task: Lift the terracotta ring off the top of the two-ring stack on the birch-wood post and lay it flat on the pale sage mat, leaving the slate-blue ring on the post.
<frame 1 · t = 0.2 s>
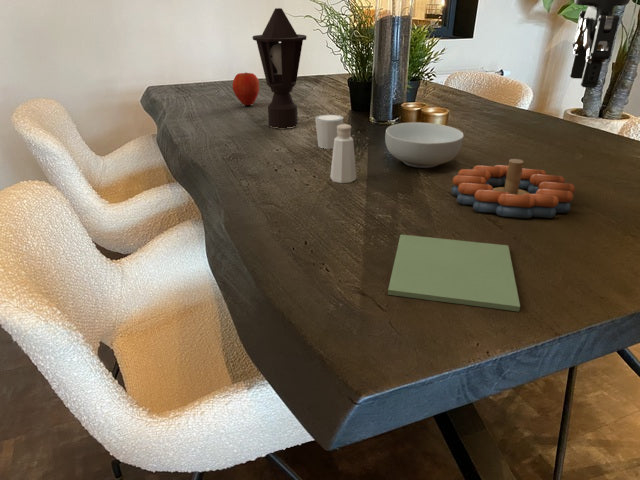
hand: (582, 82, 80), 21 cm above the table, tool pointing down, fingers open, 8 cm apart
bottom ring: (509, 200, 90), on the table, touching top ring
apple: (247, 106, 160), on the table
cereal bowl: (421, 163, 109), on the table
lantern: (283, 126, 138), on the table
white sugar pot: (329, 146, 121), on the table
pepper shaker: (343, 179, 100), on the table
ring stand: (509, 200, 90), on the table
mat: (452, 270, 68), on the table
top ring: (511, 189, 89), point 2 cm above the table, touching bottom ring
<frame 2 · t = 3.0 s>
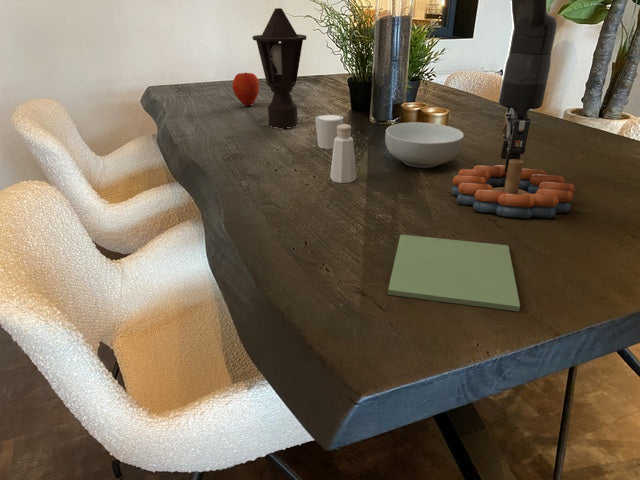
hand: (508, 165, 95), 4 cm above the table, tool pointing down, fingers open, 8 cm apart
nothing on the table moved.
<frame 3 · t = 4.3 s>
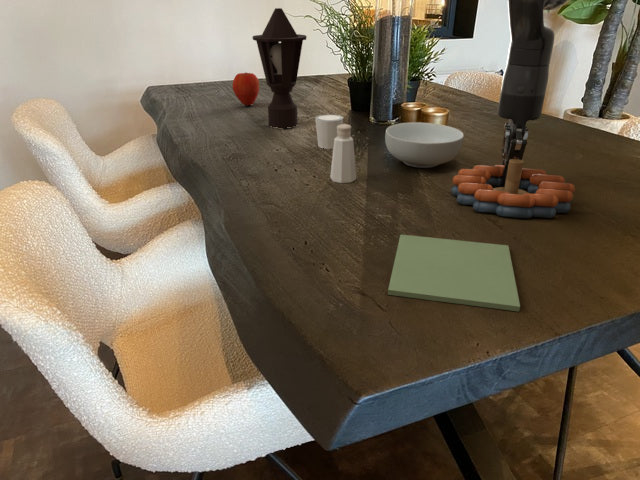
hand: (506, 180, 96), 1 cm above the table, tool pointing down, fingers closed on top ring, 2 cm apart
bottom ring: (509, 200, 90), on the table, touching gripper, top ring
top ring: (511, 189, 89), point 2 cm above the table, touching bottom ring, gripper
everything else where it was.
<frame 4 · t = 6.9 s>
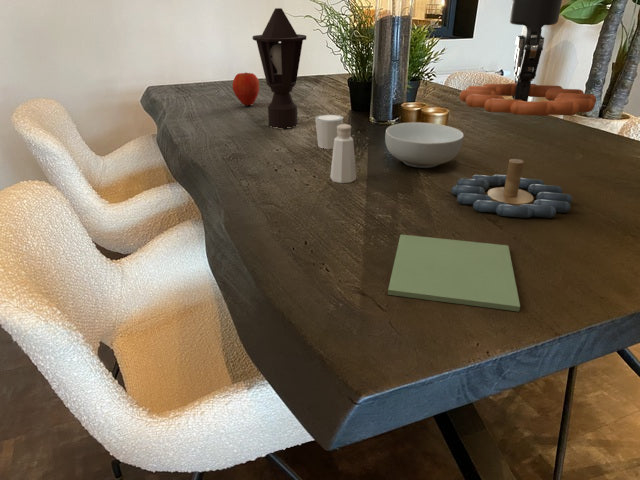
hand: (519, 100, 87), 17 cm above the table, tool pointing down, fingers closed on top ring, 2 cm apart
bottom ring: (509, 199, 90), on the table
top ring: (524, 104, 80), point 18 cm above the table, touching gripper
everything else where it was.
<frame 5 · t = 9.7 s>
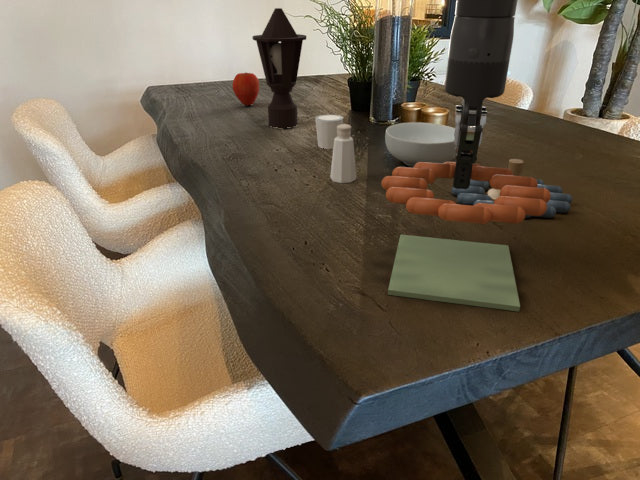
hand: (460, 183, 70), 10 cm above the table, tool pointing down, fingers closed on top ring, 2 cm apart
top ring: (462, 196, 63), point 11 cm above the table, touching gripper
everything else where it was.
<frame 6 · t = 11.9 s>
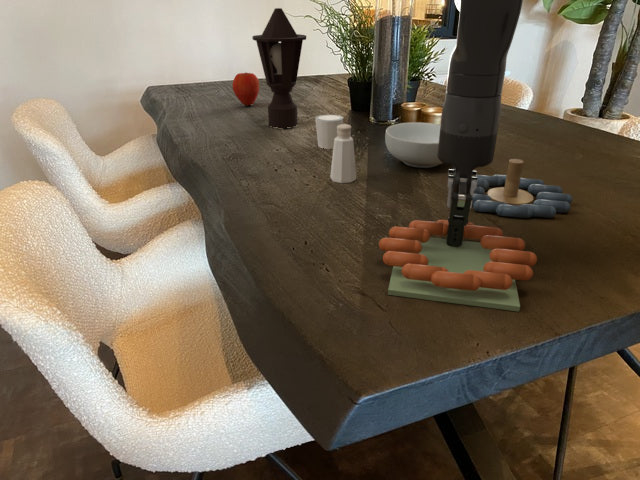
hand: (453, 239, 74), 1 cm above the table, tool pointing down, fingers closed on top ring, 2 cm apart
top ring: (454, 257, 67), point 2 cm above the table, touching gripper
everything else where it was.
when the fingers open (2 cm above the table, at t = 15.2 s): top ring drops 2 cm, resting on mat.
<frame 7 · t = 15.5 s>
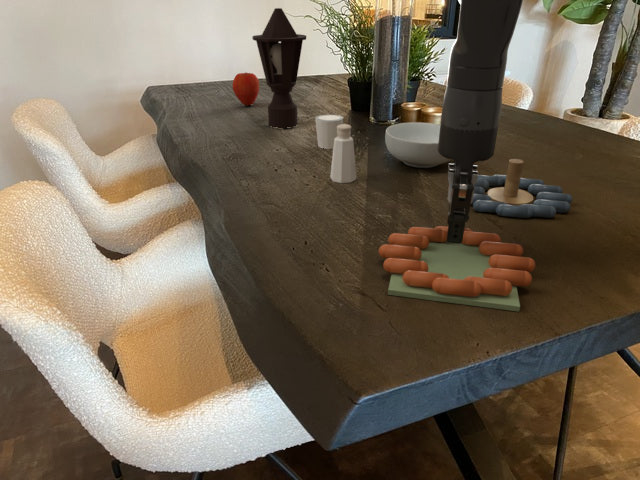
hand: (454, 232, 73), 2 cm above the table, tool pointing down, fingers open, 5 cm apart
top ring: (453, 264, 68), point 1 cm above the table, touching mat
everything else where it was.
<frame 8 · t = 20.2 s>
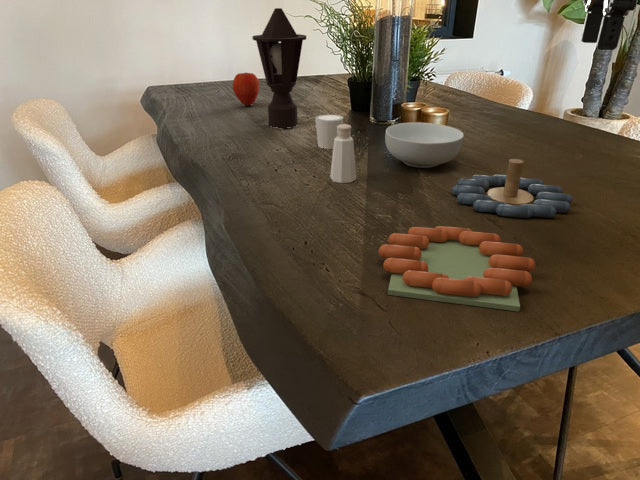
hand: (596, 45, 64), 28 cm above the table, tool pointing down, fingers open, 8 cm apart
nothing on the table moved.
at the end: top ring inside the target area on the mat (0.5 cm from its centre), point 0.8 cm above the mat's base; top ring tilted 0°; bottom ring moved 0.1 cm from its start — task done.
